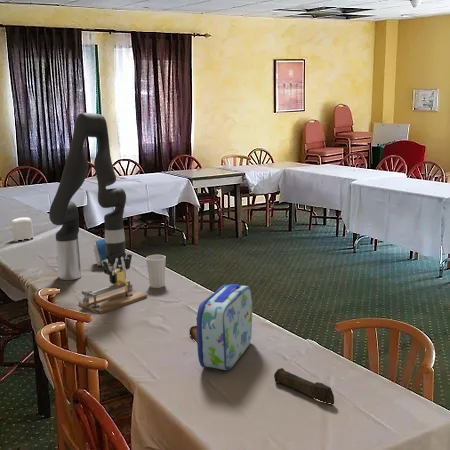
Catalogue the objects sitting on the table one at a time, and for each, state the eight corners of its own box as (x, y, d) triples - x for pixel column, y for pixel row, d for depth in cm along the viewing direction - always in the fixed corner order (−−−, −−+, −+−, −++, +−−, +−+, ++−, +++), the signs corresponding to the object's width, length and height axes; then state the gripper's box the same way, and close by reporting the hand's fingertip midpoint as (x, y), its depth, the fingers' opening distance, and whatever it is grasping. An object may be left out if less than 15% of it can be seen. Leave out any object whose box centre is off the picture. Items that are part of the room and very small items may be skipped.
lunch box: (224, 336, 195) (223, 275, 190) (256, 340, 191) (255, 278, 186) (193, 372, 171) (190, 304, 166) (228, 377, 167) (226, 308, 162)
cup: (170, 283, 247) (169, 255, 244) (160, 289, 240) (159, 261, 237) (154, 281, 251) (152, 253, 248) (143, 287, 244) (142, 259, 241)
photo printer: (14, 242, 320) (12, 219, 317) (13, 240, 324) (10, 218, 321) (34, 239, 325) (31, 217, 322) (32, 237, 328) (30, 215, 326)
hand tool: (273, 383, 164) (272, 368, 163) (283, 378, 166) (283, 363, 165) (326, 410, 150) (326, 394, 149) (336, 405, 152) (337, 388, 151)
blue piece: (123, 257, 285) (117, 227, 281) (128, 265, 272) (122, 234, 267) (96, 264, 282) (89, 234, 278) (100, 273, 268) (92, 241, 264)
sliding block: (111, 292, 234) (109, 271, 232) (119, 289, 236) (117, 268, 234) (123, 296, 228) (121, 275, 226) (131, 293, 231) (130, 272, 229)
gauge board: (78, 305, 225) (77, 289, 224) (125, 289, 241) (124, 275, 240) (100, 314, 216) (99, 298, 215) (147, 297, 232) (146, 282, 230)
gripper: (123, 234, 236) (126, 275, 240) (93, 242, 226) (97, 284, 230) (135, 237, 231) (138, 279, 235) (105, 245, 221) (108, 289, 225)
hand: (118, 282), depth 233 cm, fingers closed on sliding block, 4 cm apart
